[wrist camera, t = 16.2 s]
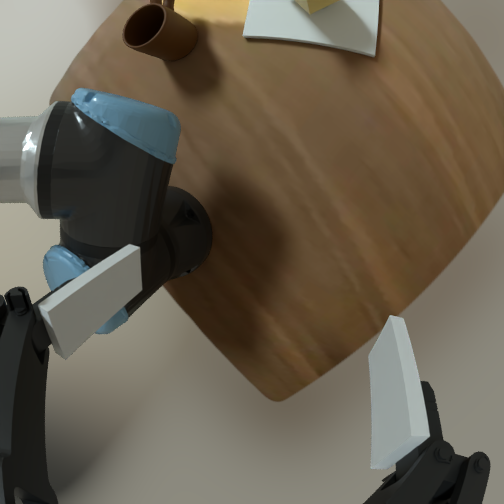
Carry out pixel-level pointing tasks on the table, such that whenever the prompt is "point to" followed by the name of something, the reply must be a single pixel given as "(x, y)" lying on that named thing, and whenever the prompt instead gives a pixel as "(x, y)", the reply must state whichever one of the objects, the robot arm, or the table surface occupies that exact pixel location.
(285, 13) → the white square plate
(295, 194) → the table surface
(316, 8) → the pale yellow cube
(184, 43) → the mug
